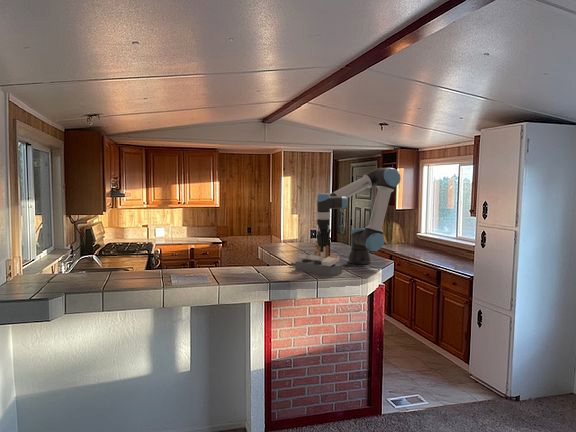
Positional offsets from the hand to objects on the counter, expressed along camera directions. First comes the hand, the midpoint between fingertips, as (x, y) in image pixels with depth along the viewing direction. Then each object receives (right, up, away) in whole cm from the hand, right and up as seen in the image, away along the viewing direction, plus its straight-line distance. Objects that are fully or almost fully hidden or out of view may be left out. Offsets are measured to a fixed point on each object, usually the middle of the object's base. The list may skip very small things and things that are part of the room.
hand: (322, 256), depth 273 cm
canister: (+1, -7, +16) cm, 17 cm away
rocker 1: (-10, -1, +2) cm, 10 cm away
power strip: (-6, -8, 0) cm, 10 cm away
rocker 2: (-3, -2, -4) cm, 5 cm away
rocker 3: (+4, -3, -9) cm, 10 cm away
